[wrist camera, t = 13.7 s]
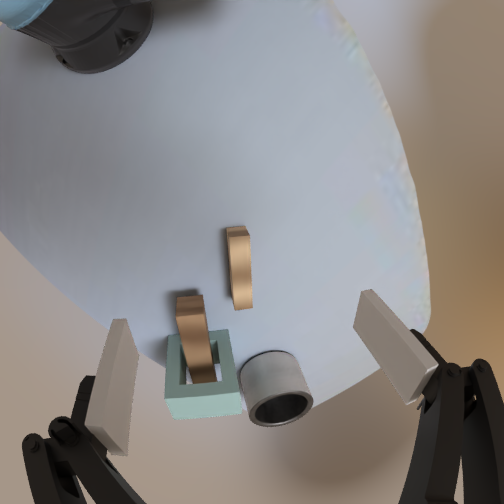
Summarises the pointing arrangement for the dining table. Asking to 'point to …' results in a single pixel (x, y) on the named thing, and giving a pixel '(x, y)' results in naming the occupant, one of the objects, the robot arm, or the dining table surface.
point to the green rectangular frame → (204, 394)
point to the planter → (275, 389)
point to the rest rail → (240, 267)
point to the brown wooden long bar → (195, 338)
